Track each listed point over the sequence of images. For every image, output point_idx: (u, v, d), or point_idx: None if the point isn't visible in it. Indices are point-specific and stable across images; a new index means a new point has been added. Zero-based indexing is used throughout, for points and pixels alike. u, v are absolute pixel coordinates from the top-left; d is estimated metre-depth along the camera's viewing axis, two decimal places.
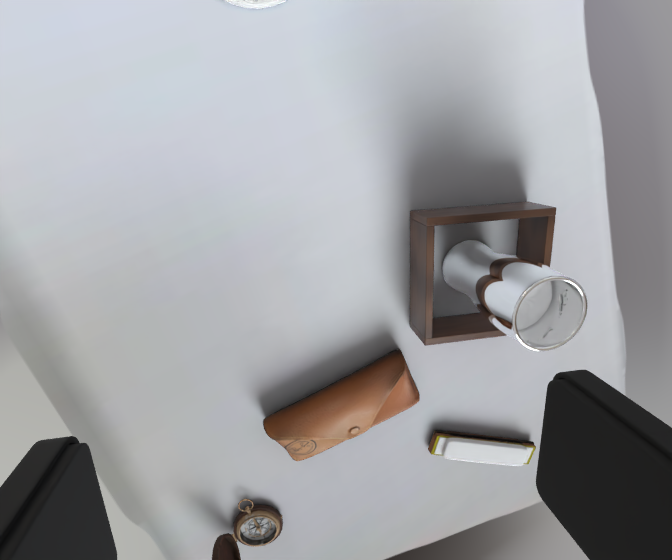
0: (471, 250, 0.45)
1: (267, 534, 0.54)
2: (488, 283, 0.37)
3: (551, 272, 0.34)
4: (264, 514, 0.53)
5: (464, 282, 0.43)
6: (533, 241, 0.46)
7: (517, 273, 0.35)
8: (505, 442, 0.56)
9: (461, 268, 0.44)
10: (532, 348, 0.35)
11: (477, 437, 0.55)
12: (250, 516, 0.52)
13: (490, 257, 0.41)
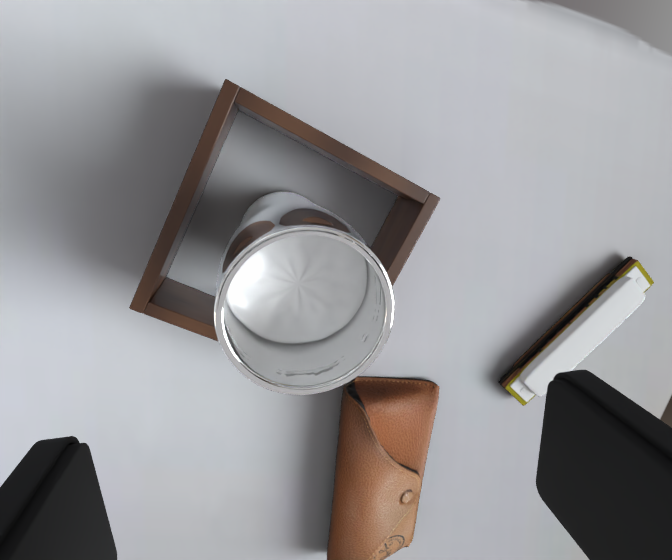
0: None
1: None
2: None
3: (228, 262, 0.15)
4: None
5: None
6: (285, 132, 0.25)
7: None
8: (593, 301, 0.34)
9: None
10: (358, 372, 0.16)
11: (553, 333, 0.35)
12: None
13: None
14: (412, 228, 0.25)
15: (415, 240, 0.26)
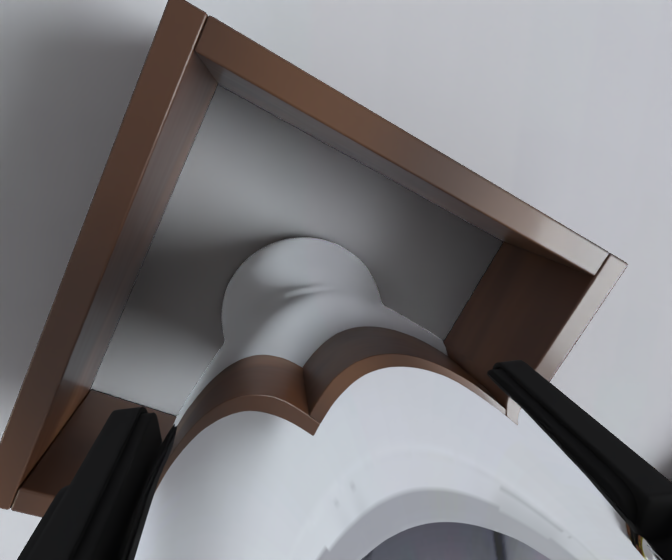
0: (226, 338, 0.13)
1: None
2: None
3: None
4: None
5: None
6: (311, 127, 0.12)
7: None
8: None
9: None
10: None
11: None
12: None
13: None
14: (567, 323, 0.13)
15: (569, 345, 0.13)
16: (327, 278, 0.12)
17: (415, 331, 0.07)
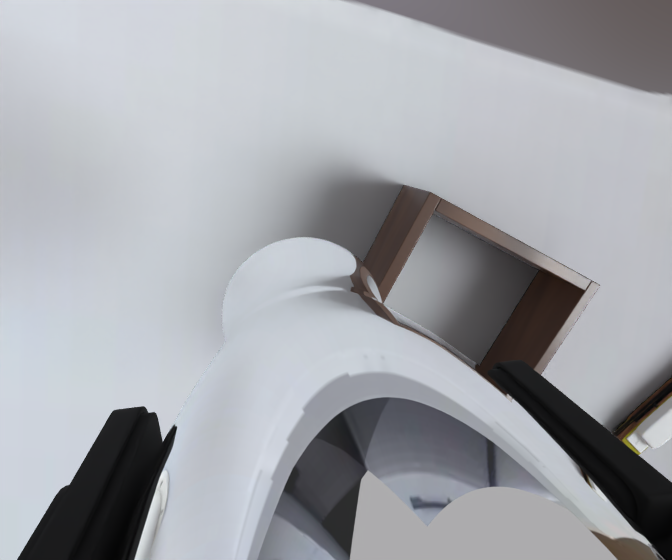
0: (226, 338, 0.13)
1: None
2: None
3: None
4: None
5: None
6: (461, 226, 0.27)
7: None
8: None
9: None
10: None
11: (668, 390, 0.37)
12: None
13: None
14: (572, 311, 0.28)
15: (574, 321, 0.28)
16: (327, 278, 0.12)
17: (416, 331, 0.07)
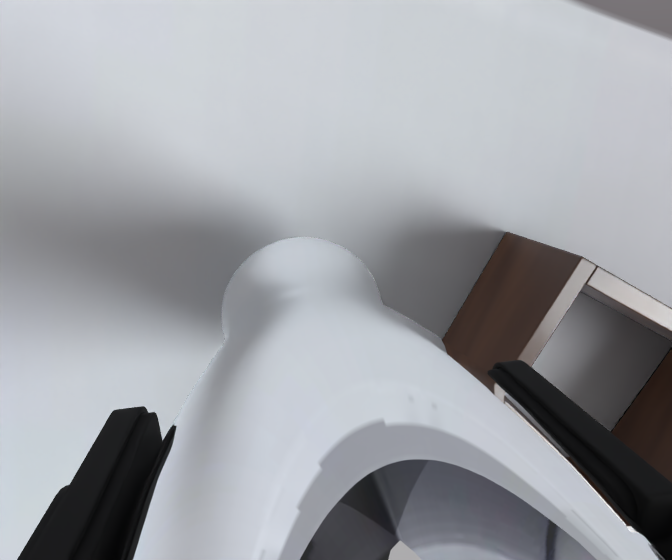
0: (226, 338, 0.13)
1: None
2: None
3: None
4: None
5: None
6: (600, 298, 0.18)
7: None
8: None
9: None
10: None
11: None
12: None
13: None
14: None
15: None
16: (327, 277, 0.12)
17: (416, 330, 0.07)
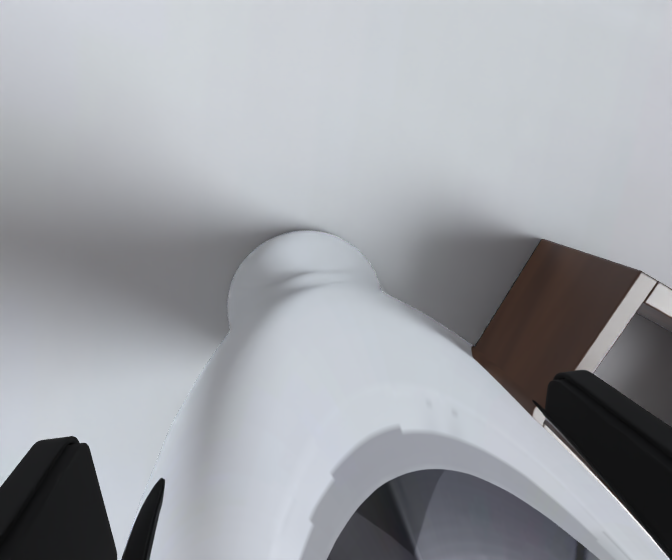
0: (232, 327, 0.14)
1: None
2: None
3: None
4: None
5: None
6: (651, 315, 0.16)
7: None
8: None
9: None
10: None
11: None
12: None
13: None
14: None
15: None
16: (329, 268, 0.12)
17: (412, 312, 0.08)
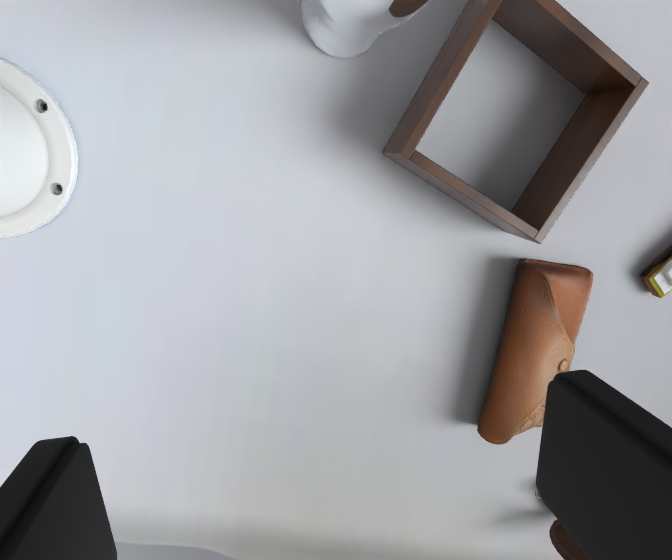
0: None
1: None
2: None
3: None
4: None
5: (336, 30, 0.26)
6: (528, 20, 0.30)
7: None
8: None
9: (321, 21, 0.27)
10: None
11: None
12: None
13: None
14: (623, 106, 0.31)
15: (623, 118, 0.31)
16: None
17: None
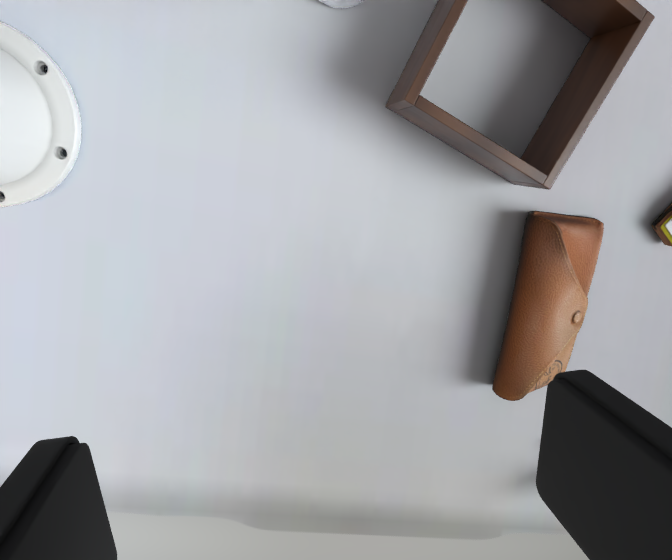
0: None
1: None
2: None
3: None
4: None
5: None
6: None
7: None
8: None
9: None
10: None
11: None
12: None
13: None
14: (629, 42, 0.30)
15: (629, 54, 0.31)
16: None
17: None
